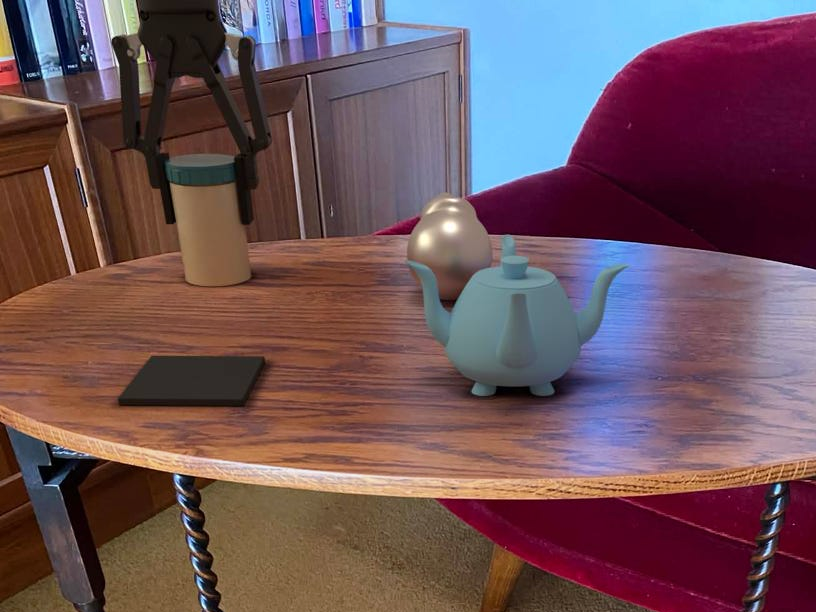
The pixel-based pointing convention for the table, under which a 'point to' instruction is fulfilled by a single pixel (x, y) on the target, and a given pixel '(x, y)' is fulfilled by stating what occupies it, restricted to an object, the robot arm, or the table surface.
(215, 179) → the jar lid
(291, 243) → the table surface
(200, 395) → the plate
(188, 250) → the jar
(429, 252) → the shiny gold rounded piece
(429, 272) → the teapot
